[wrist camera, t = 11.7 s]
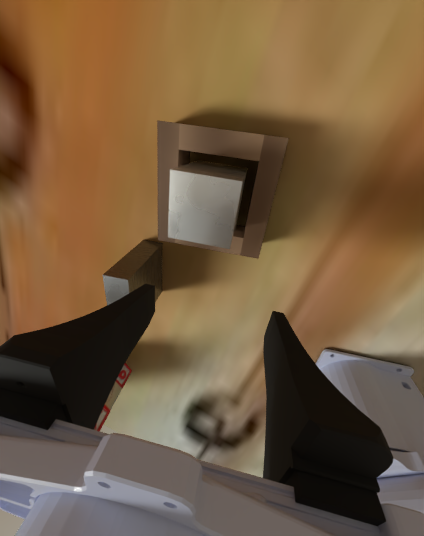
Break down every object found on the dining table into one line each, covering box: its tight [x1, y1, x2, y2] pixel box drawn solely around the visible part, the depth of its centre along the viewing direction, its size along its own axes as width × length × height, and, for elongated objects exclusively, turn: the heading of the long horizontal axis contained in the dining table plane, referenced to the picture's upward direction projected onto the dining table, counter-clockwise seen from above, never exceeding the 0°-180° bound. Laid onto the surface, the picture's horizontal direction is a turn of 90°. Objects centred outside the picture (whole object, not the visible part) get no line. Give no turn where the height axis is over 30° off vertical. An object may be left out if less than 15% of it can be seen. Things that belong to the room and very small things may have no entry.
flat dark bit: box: [103, 240, 162, 305], centre depth 21 cm, size 2×6×7 cm, turn 173°
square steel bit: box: [168, 160, 248, 249], centre depth 16 cm, size 4×4×7 cm
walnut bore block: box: [157, 121, 289, 258], centre depth 18 cm, size 8×8×3 cm
